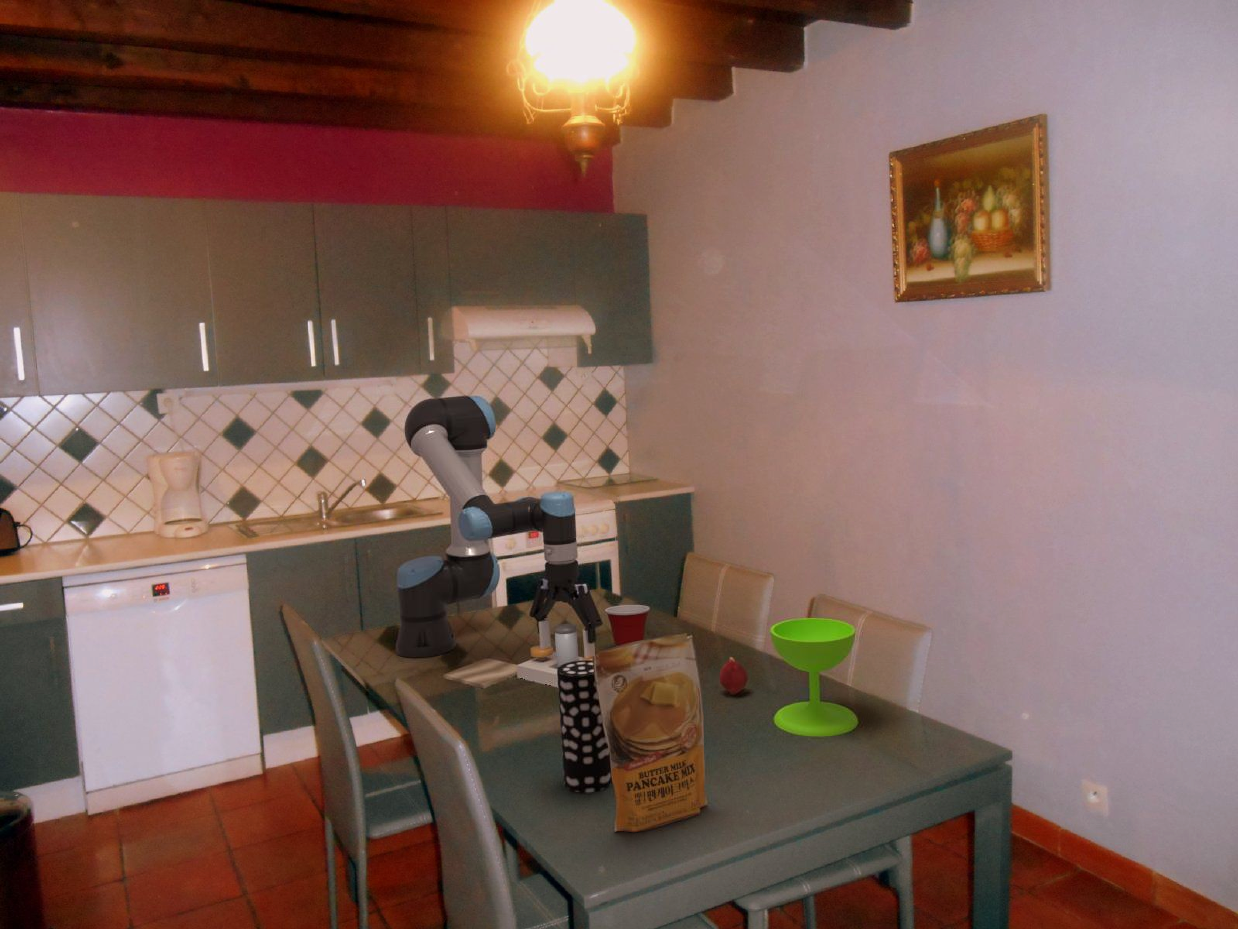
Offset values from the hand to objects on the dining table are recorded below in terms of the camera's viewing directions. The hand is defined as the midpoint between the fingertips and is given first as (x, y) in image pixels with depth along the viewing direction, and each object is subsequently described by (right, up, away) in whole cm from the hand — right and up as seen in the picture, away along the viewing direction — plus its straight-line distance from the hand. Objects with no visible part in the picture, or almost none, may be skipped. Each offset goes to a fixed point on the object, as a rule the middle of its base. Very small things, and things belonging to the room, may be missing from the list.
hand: (567, 652), depth 212 cm
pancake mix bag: (+18, -12, -67) cm, 70 cm away
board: (-19, -6, +7) cm, 22 cm away
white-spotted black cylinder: (+7, -12, -53) cm, 55 cm away
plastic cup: (+14, -4, +15) cm, 21 cm away
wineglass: (+50, -7, -32) cm, 60 cm away
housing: (0, -6, +1) cm, 6 cm away
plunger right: (+6, -5, -4) cm, 9 cm away
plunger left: (-6, -4, +6) cm, 9 cm away
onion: (+36, -6, -16) cm, 40 cm away
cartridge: (0, -6, +1) cm, 6 cm away
